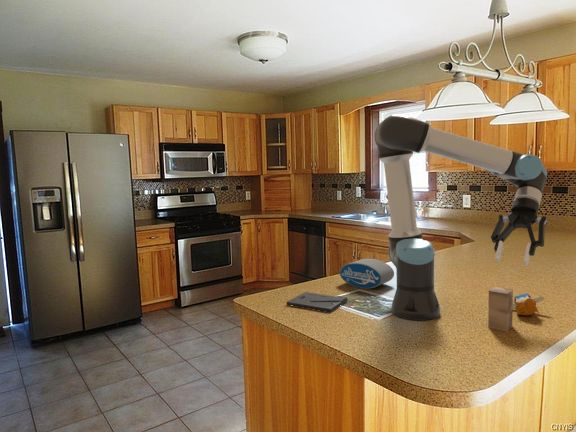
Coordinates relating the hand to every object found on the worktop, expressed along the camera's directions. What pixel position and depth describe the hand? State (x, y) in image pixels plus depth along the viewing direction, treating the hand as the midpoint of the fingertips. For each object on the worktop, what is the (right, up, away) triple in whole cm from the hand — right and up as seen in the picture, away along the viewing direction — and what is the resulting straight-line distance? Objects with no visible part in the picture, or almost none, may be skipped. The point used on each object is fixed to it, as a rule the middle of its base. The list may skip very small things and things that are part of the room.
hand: (511, 261), depth 125 cm
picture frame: (-57, -18, +24) cm, 64 cm away
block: (-6, -18, -5) cm, 20 cm away
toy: (+8, -17, +7) cm, 20 cm away
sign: (-35, -15, +45) cm, 59 cm away
